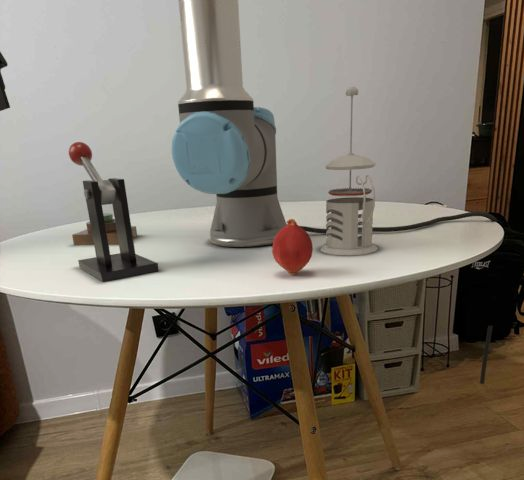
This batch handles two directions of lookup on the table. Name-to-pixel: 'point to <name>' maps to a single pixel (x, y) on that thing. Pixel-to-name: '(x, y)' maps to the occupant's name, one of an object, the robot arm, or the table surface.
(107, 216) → the button
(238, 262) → the table surface
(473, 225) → the table surface
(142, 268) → the bracket
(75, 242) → the button block
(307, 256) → the onion
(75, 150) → the lever
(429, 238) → the table surface
